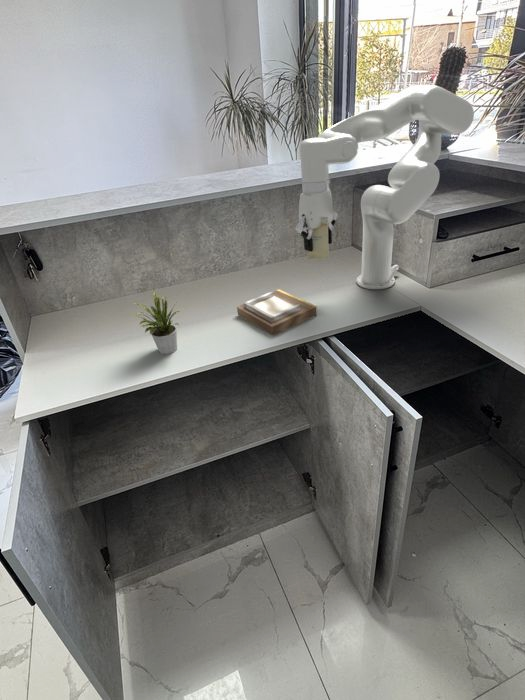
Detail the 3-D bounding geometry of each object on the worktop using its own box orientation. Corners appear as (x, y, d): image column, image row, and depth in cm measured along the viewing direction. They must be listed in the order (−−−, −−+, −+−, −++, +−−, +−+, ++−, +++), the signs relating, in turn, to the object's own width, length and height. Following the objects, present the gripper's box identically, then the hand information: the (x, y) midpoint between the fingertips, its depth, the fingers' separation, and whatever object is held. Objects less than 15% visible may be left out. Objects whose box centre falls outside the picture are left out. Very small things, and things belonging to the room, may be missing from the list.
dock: (279, 297, 146) (278, 285, 143) (316, 315, 133) (316, 302, 130) (237, 315, 138) (236, 302, 135) (272, 335, 125) (271, 322, 123)
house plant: (136, 343, 128) (122, 293, 120) (182, 330, 133) (171, 281, 124) (146, 367, 117) (130, 313, 108) (195, 352, 121) (184, 299, 112)
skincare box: (308, 259, 134) (305, 220, 127) (309, 254, 137) (306, 215, 131) (328, 258, 132) (327, 218, 126) (329, 253, 136) (328, 214, 129)
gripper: (328, 178, 130) (330, 236, 140) (283, 192, 122) (288, 252, 132) (347, 180, 125) (347, 240, 134) (301, 195, 117) (305, 258, 126)
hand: (318, 246), depth 133 cm, fingers closed on skincare box, 7 cm apart
